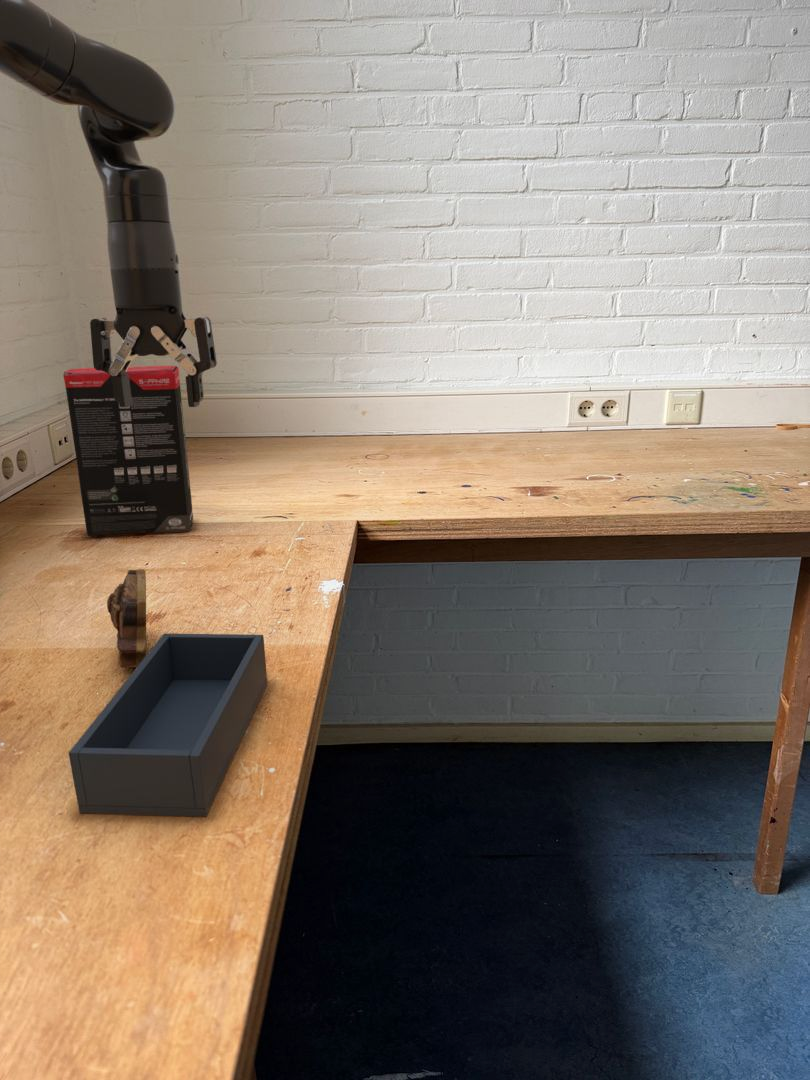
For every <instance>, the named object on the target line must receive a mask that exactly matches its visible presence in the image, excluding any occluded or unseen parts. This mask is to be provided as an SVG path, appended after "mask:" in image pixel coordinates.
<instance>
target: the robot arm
mask: <svg viewBox="0 0 810 1080" xmlns="http://www.w3.org/2000/svg"><path fill="white" fill-rule="evenodd" d="M0 73H1V74H3V75H4V76H6V77H8V78H9V79H11V80H13V81H15V82H16V83H18V84H20V85H22V86H23V87H25V88H27V89H28V90H31V91H32V92H34V93H36V94H38V95H39V96H41V97H43V98H45V99H46V100H49V101H51V102H53V103H55V104H59V105H63V106H77V117H78V121H79V124H80V128H81V131H82V134H83V137H84V139H85V142H86V144H87V148H88V151H89V153H90V156H91V159H92V162H93V165H94V167H95V170H96V172H97V174H98V177H99V180H100V182H101V186H102V193H103V194H102V195H103V204H104V211H105V219H106V228H107V229H106V230H107V231H106V239H107V240H106V243H107V245H106V246H107V254H108V261H109V270H110V278H111V286H112V293H113V303H114V308H115V311H116V315H115V319H107V318H106V317H98V318H93V319H91V320H90V322H89V326H90V341H91V350H92V364H93V365H92V366H93V368H95V369H96V370H98V371H100V370H101V371H104V372H107V373H108V374H110V376H111V378H112V385H113V393H114V399H115V401H116V402H119V405H120V407H128V406H131V405H132V398H131V390H130V382H129V375H126V371H127V369H128V368H129V367H131V364H132V362H133V361H134V360H135V359H137V357H147V356H150V355H152V356H153V355H154V356H158V357H166V356H168V355H170V356H171V358H172V359H173V360H174V361H175V362H177V363H178V364H179V365H180V366H181V367H182V369H183V370H184V371H185V372H186V373H187V375H185V387H186V396H187V404H188V405H187V406H188V408H196V407H197V408H198V407H199V406H200V403H201V402H202V401H203V400H204V385H203V384H204V383H203V373H204V372H206V371H208V370H211V369H214V368H215V367H216V366H217V364H218V361H217V355H216V349H215V348H216V347H215V341H214V335H213V328H212V321H211V319H210V317H208V316H200V317H197V318H186V316H185V314H184V313H183V302H182V293H181V292H182V291H181V282H180V281H181V280H180V274H179V255H178V252H177V245H176V239H175V235H174V231H173V226H172V225H173V223H172V215H171V206H170V198H169V197H170V196H169V188H168V187H169V186H168V182H167V178H166V177H165V174H164V173H163V171H162V170H161V169H159V168H157V167H156V166H152V165H149V164H143V160H142V159H141V156H140V154H139V151H138V147H137V144H136V142H140V141H147V140H148V141H149V140H154V139H158V138H159V137H162V136H163V135H165V134H166V133H167V132H168V131H169V130H170V129H171V128H172V126H173V124H174V121H175V118H176V102H175V98H174V95H173V93H172V90H171V89H170V87H169V85H168V83H167V82H166V80H164V78H163V77H162V76H161V75H160V73H158V71H156V70H155V69H154V68H153V67H151V65H149V64H148V63H146V62H144V61H143V60H141V59H140V58H137V57H136V56H133V55H131V54H128V53H127V52H124V51H122V50H119V49H117V48H115V47H112V46H110V45H108V44H106V43H103V42H101V41H98V40H95V39H92V38H89V37H87V36H85V35H83V34H81V33H78V32H77V31H76V30H74V29H73V28H72V27H70V26H69V25H67V24H66V23H65V22H63V21H62V20H60V19H59V18H57V17H56V16H54V15H53V14H51V13H50V12H49V11H47V10H45V9H44V8H43V7H41V6H40V5H38V4H36V3H35V2H33V1H31V0H0ZM187 330H189V331H190V333H191V335H192V336H193V337H195V338H196V344H197V351H198V356H199V360H198V359H197V358H196V356H195V355H194V354H193V351H192V350H191V348H190V347H189V346H188V345H187V343H186V342H185V341H184V340H183V338H184V335H185V334H186V332H187ZM114 331H115V332H116V333H117V334H118V335H119V336H120V338H121V339H122V343H121V345H120V347H119V348H118V350H117V352H116V353H115V358H114V359H112V348H111V338H112V337H113V336H114Z"/></svg>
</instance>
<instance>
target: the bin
mask: <svg viewBox="0 0 810 1080" xmlns="http://www.w3.org/2000/svg"><path fill="white" fill-rule="evenodd" d="M266 661H267V659H266V650H265V639H264V634H248V633H247V634H241V633H240V634H238V633H237V634H235V633H224V634H223V633H163V634H162V635H161V636H160V638H159V639H158V640H157V642H155V644H154V645H153V647H152V648H151V649H150V650H149V652H148V653H147V655H146V657H145V658H144V659H143V660H142V662H141V663H140V664H139V665H138V667H135V669H134V670H133V672H132V673H131V674H130V675H129V677H128V678H127V679H126V680H125V682H123V684H122V685H121V687H120V688H118V690H117V691H116V693H115V694H114V695H113V696H112V698H111V699H110V700H109V702H108V703H107V704H106V705H105V707H104V708H103V709H102V710H101V711H100V712H99V714H97V716H96V718H95V719H94V720H93V722H92V723H91V724H90V725H89V726H88V728H87V729H86V730H85V731H84V732H83V734H82V735H81V736H80V738H79V739H78V740H77V741H76V742H75V744H74V745H73V746H72V748H71V749H70V750H69V751H68V758H69V763H70V764H69V765H70V768H71V774H72V780H73V785H74V790H75V791H74V792H75V796H76V802H77V806H78V807H77V808H78V812H79V814H91V815H93V814H94V815H123V816H124V815H127V816H128V815H129V816H160V817H161V816H163V817H164V816H166V817H168V816H169V817H195V818H201V817H202V818H206V817H207V816H208V815H209V812H210V810H211V807H212V805H213V803H214V802H215V799H216V797H217V795H218V792H219V790H220V788H221V786H222V784H223V782H224V779H225V778H226V775H227V773H228V771H229V768H230V766H231V764H232V762H233V760H234V758H235V756H236V753H237V751H238V750H239V747H240V744H241V743H242V740H243V738H244V736H245V733H246V731H247V730H248V727H249V725H250V723H251V721H252V719H253V716H254V714H255V712H256V709H257V707H258V705H259V703H260V701H261V699H262V697H263V694H264V692H265V690H266V688H267V686H268V674H267V662H266Z"/></svg>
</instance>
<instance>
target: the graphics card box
mask: <svg viewBox="0 0 810 1080" xmlns="http://www.w3.org/2000/svg"><path fill="white" fill-rule="evenodd" d="M126 375H129V382H130V390H131V398H132V405H131V406H128V407H120V405H119V402H116V401H115V399H114V393H113V385H112V378H111V376H110V374H108V373H107V372H104V371H101V370H100V371H98V370H96V369H95V368H94V367H91V368H89V367H86V368H69V369H68V370H65V371H64V372H63V374H62V377H63V380H64V381H63V382H64V386H65V387H64V388H65V393H66V400H67V407H68V414H69V419H70V420H69V421H70V426H71V433H72V441H73V446H74V452H75V453H74V454H75V457H76V458H75V459H76V466H77V474H78V481H79V489H80V496H81V503H82V510H83V517H84V525H85V531H86V536H87V537H102V536H121V535H123V536H124V535H141V534H161V533H164V534H165V533H185V532H189V531H191V528H192V526H193V525H192V524H193V521H194V512H193V502H192V501H193V500H192V489H191V481H190V471H189V463H188V451H187V441H186V432H185V421H184V410H183V400H182V399H183V398H182V392H181V391H182V390H181V379H180V369H179V366H177V365H163V366H162V365H155V366H153V365H152V366H151V365H150V366H129V368H128V369H127V371H126Z"/></svg>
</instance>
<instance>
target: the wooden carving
mask: <svg viewBox="0 0 810 1080" xmlns="http://www.w3.org/2000/svg"><path fill="white" fill-rule="evenodd" d="M106 608H107V612H108V613H109V617H110V620H111V622H112V623H111V624H112V626H113V627H114V629H116V631H117V634H116V637H117V640H116V647H117V650H118V664H119V667H120V668H122V669H123V668H124V669H125V668H137V667H138V665H139V664H140V663H141V662H142V660H143V659H144V658H145V657H146V655H147V654H148V653H147V647H148V646H147V574H146V569H145V568H138V569H130V570H128V571H127V574H126V575H125V577H124V580H123V583H119V584H118V585H117V586H116V587H115V589H114V591H113V592H112V593H110V595H109V596H108V598H107V601H106Z"/></svg>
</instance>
